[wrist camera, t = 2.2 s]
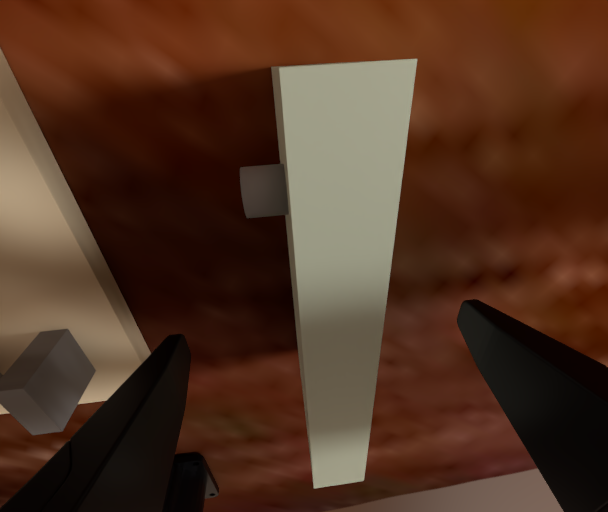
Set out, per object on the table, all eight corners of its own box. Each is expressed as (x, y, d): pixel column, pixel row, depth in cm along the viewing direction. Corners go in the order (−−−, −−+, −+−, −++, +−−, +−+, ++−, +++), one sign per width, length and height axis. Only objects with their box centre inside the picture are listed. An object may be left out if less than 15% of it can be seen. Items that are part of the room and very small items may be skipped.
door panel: (331, 343, 18) (364, 480, 12) (280, 349, 18) (288, 492, 12) (329, 63, 10) (417, 58, 4) (241, 69, 10) (207, 72, 4)
